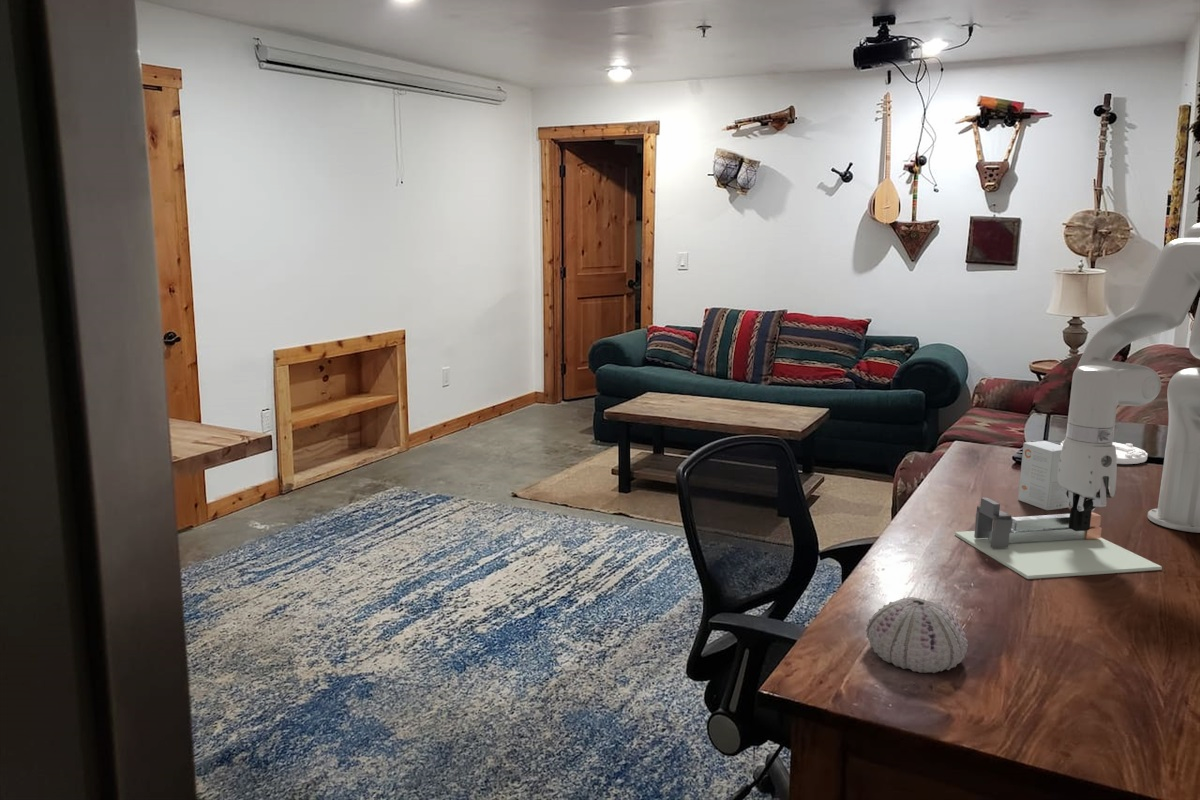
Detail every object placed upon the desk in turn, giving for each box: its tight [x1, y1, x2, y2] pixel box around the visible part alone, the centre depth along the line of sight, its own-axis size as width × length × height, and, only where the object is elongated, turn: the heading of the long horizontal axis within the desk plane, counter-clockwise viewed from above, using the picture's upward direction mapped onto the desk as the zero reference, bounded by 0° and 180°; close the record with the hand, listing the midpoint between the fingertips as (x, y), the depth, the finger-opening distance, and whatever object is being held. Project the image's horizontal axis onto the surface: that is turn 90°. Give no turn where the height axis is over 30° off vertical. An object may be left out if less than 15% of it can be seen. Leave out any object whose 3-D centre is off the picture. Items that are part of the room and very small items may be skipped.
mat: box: [954, 530, 1163, 580], centre depth 163 cm, size 26×22×1 cm
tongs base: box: [988, 518, 1103, 544], centre depth 167 cm, size 22×3×6 cm, turn 100°
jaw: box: [1011, 511, 1102, 531], centre depth 167 cm, size 18×3×2 cm, turn 102°
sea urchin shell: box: [865, 596, 969, 674], centre depth 123 cm, size 13×14×8 cm
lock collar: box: [974, 497, 1012, 548], centre depth 165 cm, size 3×6×8 cm, turn 10°
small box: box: [1017, 440, 1070, 511], centre depth 190 cm, size 8×6×13 cm
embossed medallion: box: [1059, 440, 1149, 465], centre depth 233 cm, size 20×20×3 cm
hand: (1078, 529), depth 165 cm, fingers closed
